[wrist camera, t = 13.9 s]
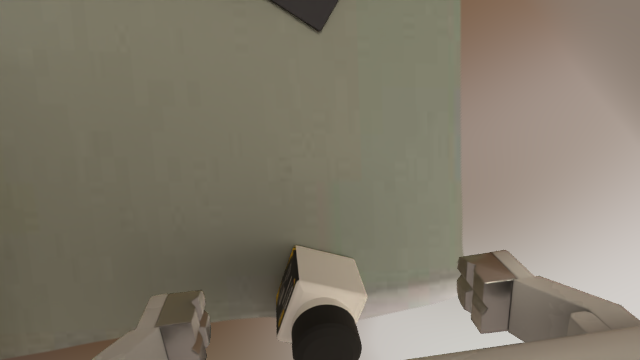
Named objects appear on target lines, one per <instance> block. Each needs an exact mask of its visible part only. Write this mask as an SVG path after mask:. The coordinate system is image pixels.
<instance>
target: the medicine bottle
mask: <svg viewBox="0 0 640 360" xmlns="http://www.w3.org/2000/svg"><path fill="white" fill-rule="evenodd" d="M366 300H367V294H366V291H365V288H364V286H363V283H362V280H361V277H360V274H359V271H358V268H357V266H356V263H355V260H354V259H352V258H348V257H344V256H340V255H336V254H332V253H327V252H323V251H319V250H315V249H311V248H306V247H302V246H298V245H295V246H294V247H293V250H292V253H291V255H290V258H289V261H288V264H287V267H286V270H285V273H284V276H283V279H282V281H281V284H280V287H279V290H278V293H277V296H276V316H277V339H278V341H281V342H286V343H291V344H292V350H293V359H294V360H358V359H359V357H360V354H361V349H362V347H361V341H360V337H359V334H358V330H357V326H356V324H357V321H358V319H359V317H360V314H361V312H362V310H363V307H364V305H365V303H366Z"/></svg>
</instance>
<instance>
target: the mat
mask: <svg viewBox="0 0 640 360" xmlns="http://www.w3.org/2000/svg"><path fill="white" fill-rule="evenodd" d="M272 1H273V2H275V3H276V4H278V5H279V6H281V7H283V8H284V9H286V10H287V11H289V12H290V13H292V14H293V15H295V16H296V17H298V18H300V19H301V20H303V21H304V22H306V23H307V24H309V25H310V26H312V27H313V28H315V29H317V30H318V31H321V30H322V28H323V26H324V24H325V23H326V21H327V19H328V17H329V16H330V14H331V12H332V10H333V9H334V7H335V5H336V3H337V2H338V0H272Z"/></svg>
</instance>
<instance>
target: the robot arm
mask: <svg viewBox="0 0 640 360" xmlns="http://www.w3.org/2000/svg"><path fill="white" fill-rule="evenodd" d="M457 269H458V270H459V271H460V273H461V276H460V277H459V278H458V280H457V293H458V298H459V300H460V303H461V305H462V306H463V308H464V309H465V310H467V311H468V312H470V313H471V320H472V321H473V323H474V324H475V326H476V327H477V329H478V330H479V332H480V333H481V334H483V333H492V332H501V331H508V332H509V333H511V334H513V335H514V336H516V337H517V338H519V339H520V340H522V341H524V343H518V344H511V345H504V346H497V347H490V348H483V349H477V350H469V351H462V352H456V353H449V354H442V355H435V356H428V357H422V358H414V359H407V360H640V320H638V319H637V318H635V316H633V315H632V314H631V313H630V312H628V311H627V310H626V309H625V308H623V307H622V306H621V305H619V304H616V303H613V302H610V301H608V300H605V299H602V298H599V297H596V296H594V295H590V294H588V293H585V292H583V291H580V290H577V289H574V288H571V287H569V286H566V285H563V284H560V283H557V282H554V281H551V280H549V279H546V278H543V277H541V276H536V277H535V276H534V275H532V274H531V273H530V272H529V271H528V270H527V269H526V268H525V267H524V266H523V265H522V264H521V263H520V262H519V261H518V260H517V259H516V258H514V256H512V255H511V254H510V253H509V252H508V251H506V250H501V251H495V252H490V253H483V254H477V255H470V256H463V257H459V259H458V266H457ZM205 303H206V300H205V296H204V292H203V291H202V290H197V291H187V292H178V293H170V294H161V295H154V296H152V297H150V299H149V301H148V303H147V305H146V308H145V310H144V312H143V314H142V316H141V318H140V320H139V323H138V325H137V327H136V329H135V330H133V331H129V332H128V333H126V334H125V335H124V336H122V337H121V338H120V339H118V340H117V341H116V342H114V343H113V344H112V345H110V346H109V347H108V348H106V349H105V350H103V351H102V352H101V353H99V354H98V355H97V356H95V357H94V358H93V359H91V360H206V358H207V354H206V350H205V348H206V347H207V346H208V345H209V343H210V338H211V325H210V318H209V313H207V312H206V311H205V310H204V308H205Z"/></svg>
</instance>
